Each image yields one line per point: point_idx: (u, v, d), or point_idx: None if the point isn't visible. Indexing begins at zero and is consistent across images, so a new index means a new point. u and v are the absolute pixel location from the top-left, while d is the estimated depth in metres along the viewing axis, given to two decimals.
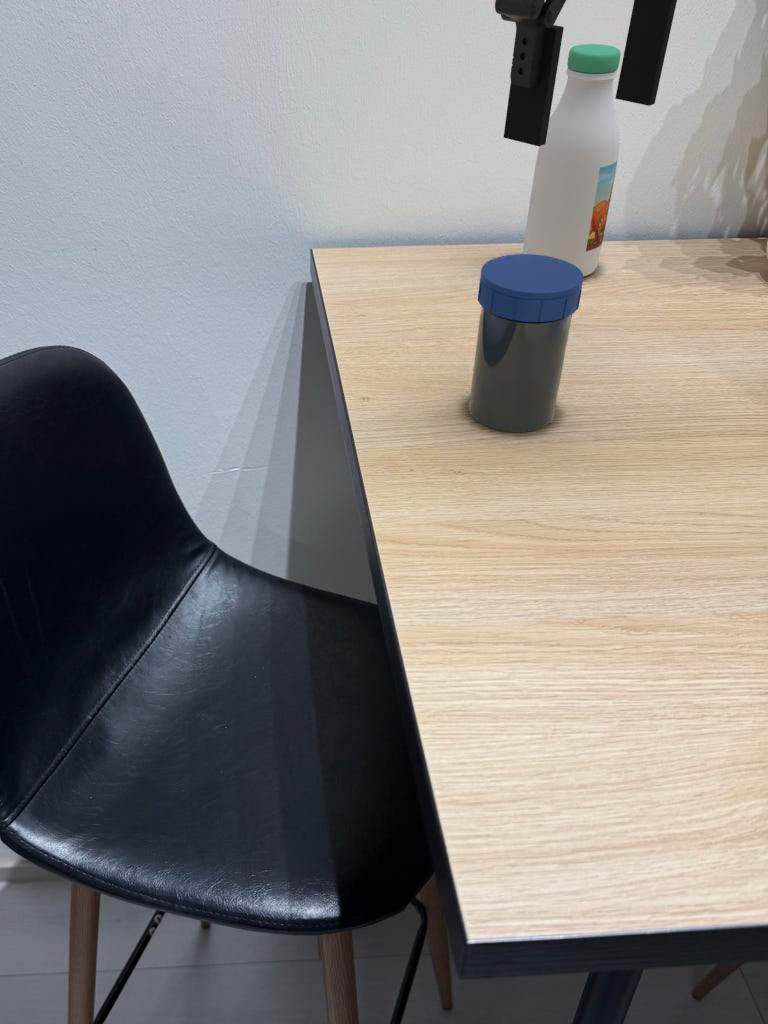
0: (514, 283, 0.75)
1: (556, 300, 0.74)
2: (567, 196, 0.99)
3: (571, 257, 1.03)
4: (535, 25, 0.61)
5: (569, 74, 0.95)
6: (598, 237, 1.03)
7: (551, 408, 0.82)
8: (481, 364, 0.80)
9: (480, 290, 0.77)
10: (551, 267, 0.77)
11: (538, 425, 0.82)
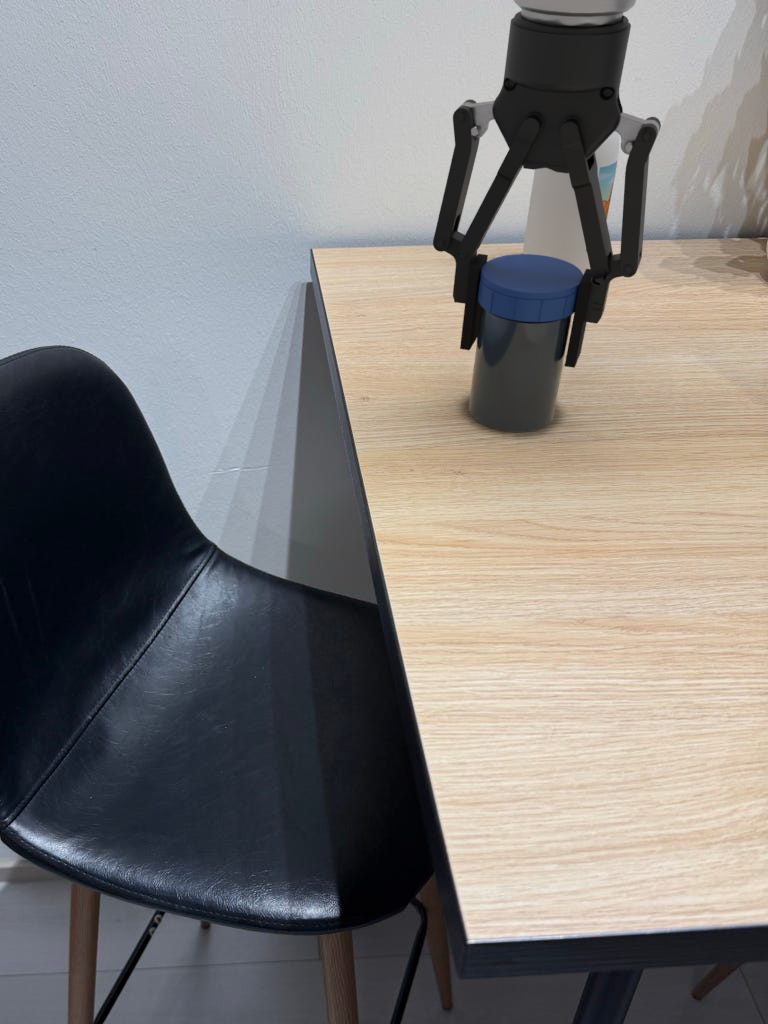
0: (513, 283, 0.75)
1: (556, 300, 0.74)
2: (567, 196, 0.99)
3: (571, 257, 1.03)
4: (454, 257, 0.77)
5: None
6: None
7: (551, 408, 0.82)
8: (481, 364, 0.80)
9: (480, 290, 0.77)
10: (551, 267, 0.77)
11: (538, 425, 0.82)
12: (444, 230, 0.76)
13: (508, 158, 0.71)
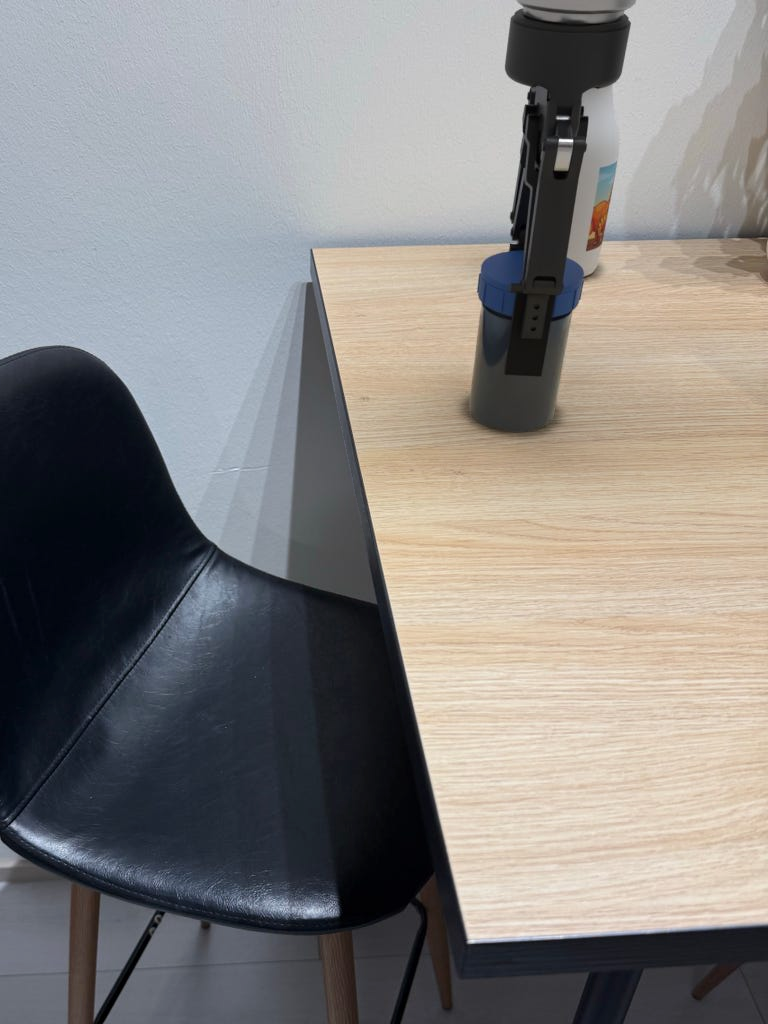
0: (567, 274, 0.76)
1: None
2: None
3: (571, 257, 1.03)
4: (549, 295, 0.72)
5: None
6: (598, 237, 1.03)
7: (551, 408, 0.82)
8: (481, 364, 0.80)
9: (557, 303, 0.75)
10: (510, 262, 0.77)
11: (538, 425, 0.82)
12: None
13: None
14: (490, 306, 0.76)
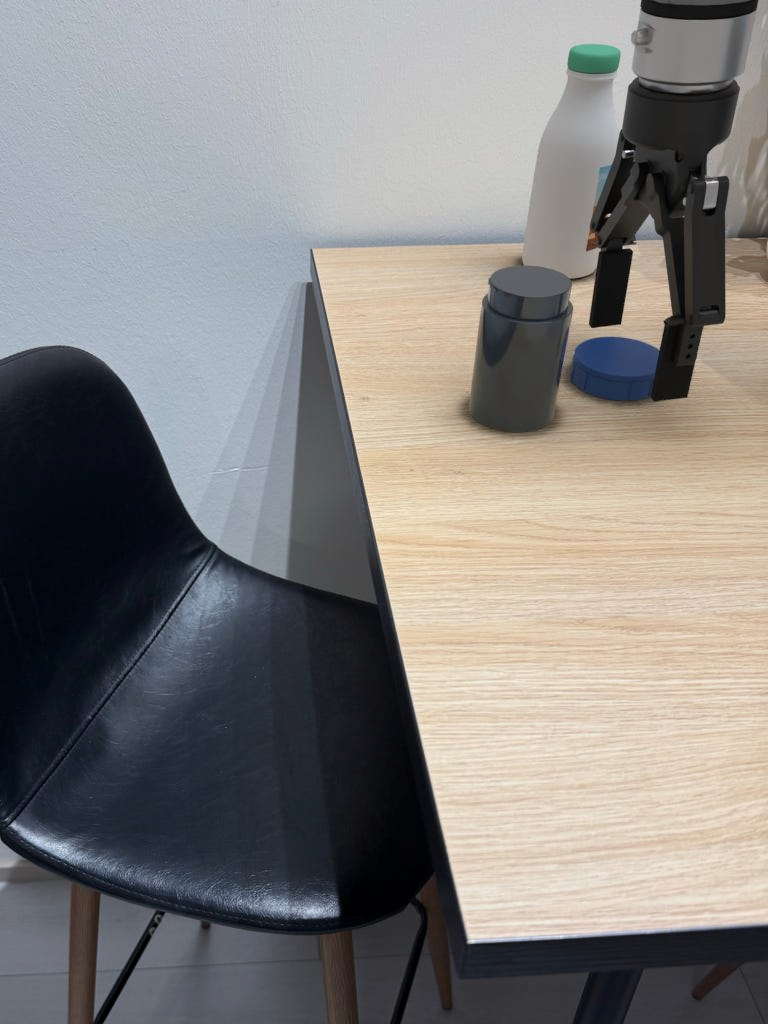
0: (652, 358, 0.86)
1: None
2: (567, 196, 0.99)
3: (571, 257, 1.03)
4: None
5: (569, 74, 0.95)
6: None
7: (551, 408, 0.82)
8: (481, 364, 0.80)
9: (652, 385, 0.85)
10: (597, 351, 0.87)
11: (538, 425, 0.82)
12: None
13: None
14: (592, 393, 0.86)
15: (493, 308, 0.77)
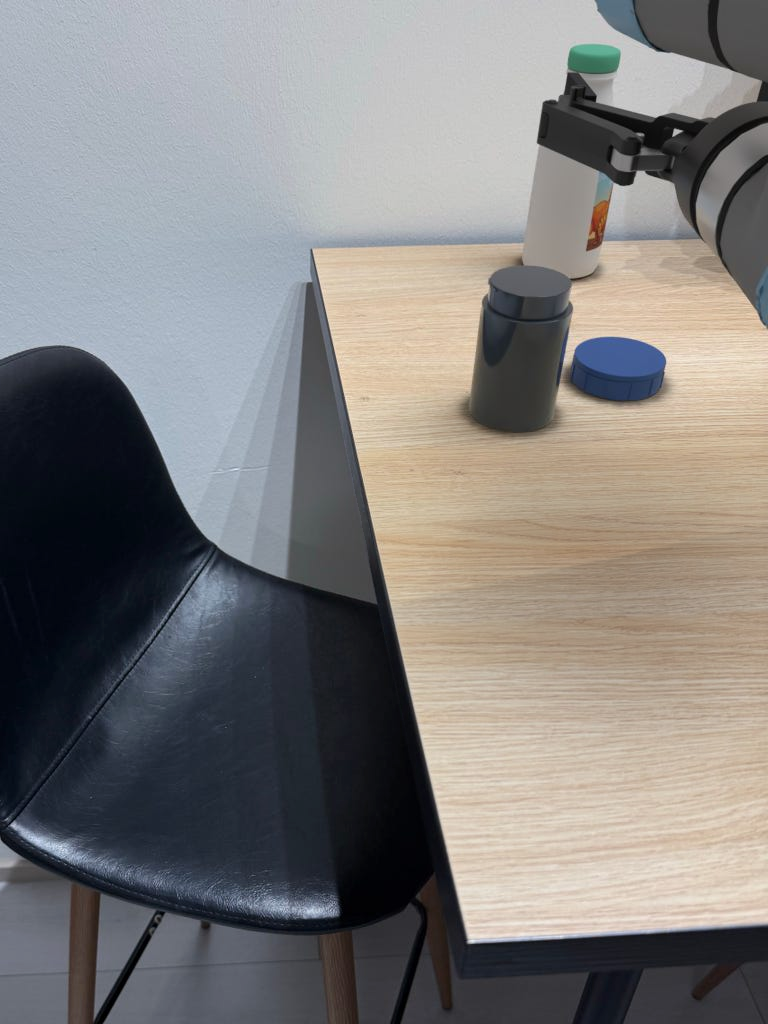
0: (652, 358, 0.86)
1: None
2: (567, 196, 0.99)
3: (571, 257, 1.03)
4: None
5: None
6: (598, 237, 1.03)
7: (551, 408, 0.82)
8: (481, 364, 0.80)
9: (652, 385, 0.85)
10: (597, 351, 0.87)
11: (538, 425, 0.82)
12: None
13: None
14: (592, 393, 0.86)
15: (493, 308, 0.77)
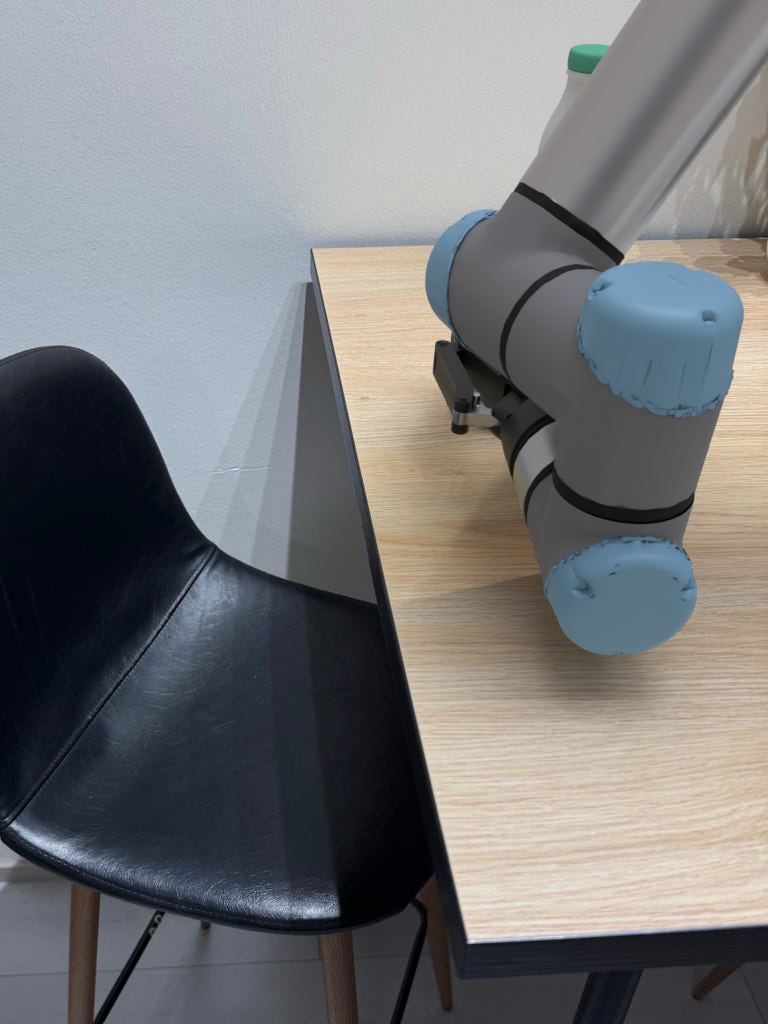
0: None
1: None
2: None
3: None
4: None
5: (569, 74, 0.95)
6: None
7: None
8: None
9: None
10: None
11: None
12: None
13: None
14: None
15: None
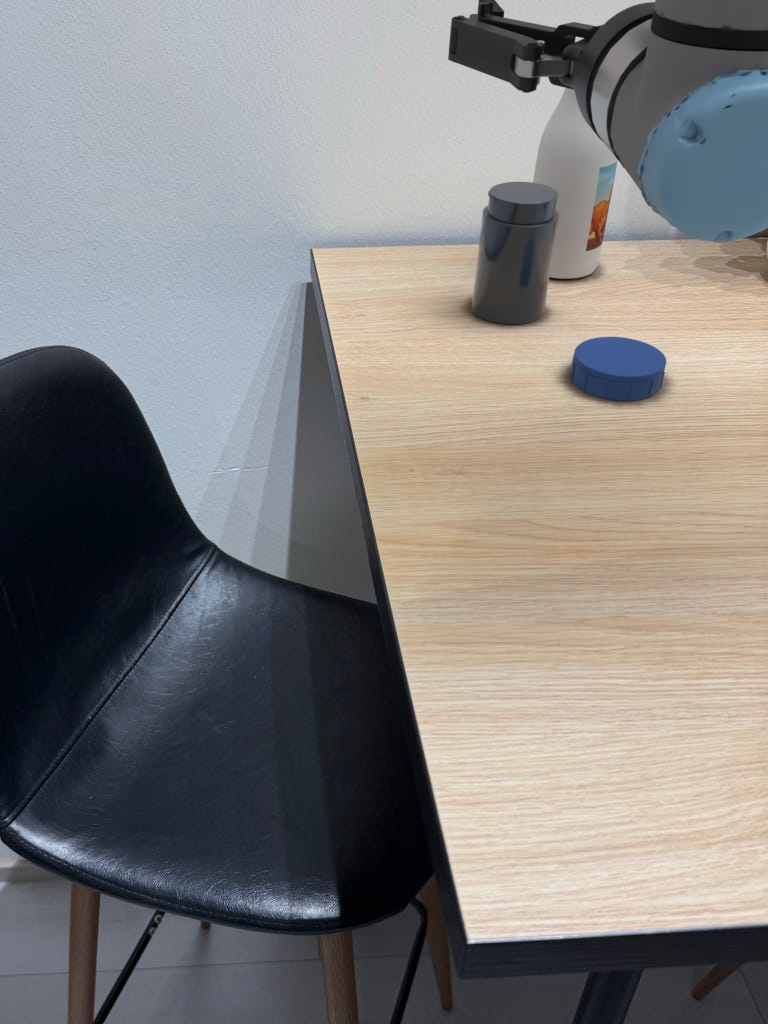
0: (652, 358, 0.86)
1: None
2: (567, 196, 0.99)
3: (571, 257, 1.03)
4: None
5: None
6: (598, 237, 1.03)
7: (541, 304, 0.97)
8: (482, 266, 0.95)
9: (652, 385, 0.85)
10: (597, 351, 0.87)
11: (530, 318, 0.97)
12: None
13: None
14: (592, 393, 0.86)
15: (492, 215, 0.92)
